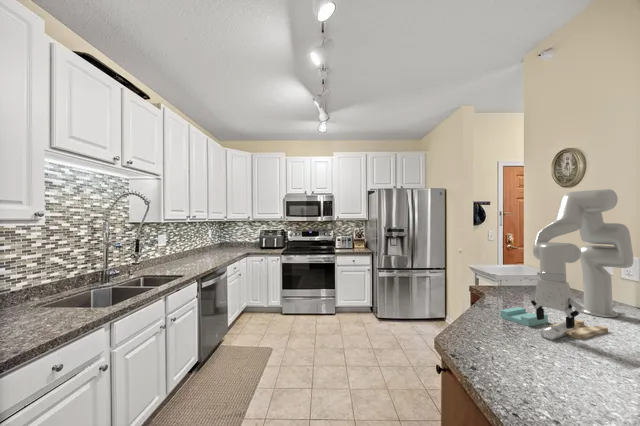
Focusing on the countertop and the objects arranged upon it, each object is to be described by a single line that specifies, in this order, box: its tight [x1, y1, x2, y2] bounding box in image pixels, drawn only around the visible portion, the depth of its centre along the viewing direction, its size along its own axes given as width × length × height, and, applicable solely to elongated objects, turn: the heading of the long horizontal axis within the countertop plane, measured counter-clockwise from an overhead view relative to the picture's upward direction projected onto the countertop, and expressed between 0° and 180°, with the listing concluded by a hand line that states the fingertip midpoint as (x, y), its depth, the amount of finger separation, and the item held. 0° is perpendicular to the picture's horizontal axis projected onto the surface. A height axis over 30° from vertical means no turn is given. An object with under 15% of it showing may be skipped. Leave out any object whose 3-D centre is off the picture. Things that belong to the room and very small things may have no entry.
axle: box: [539, 321, 573, 341], centre depth 105 cm, size 12×4×4 cm, turn 111°
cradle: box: [499, 306, 549, 328], centre depth 122 cm, size 12×12×4 cm
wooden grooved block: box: [548, 318, 609, 340], centre depth 110 cm, size 18×10×2 cm, turn 110°
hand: (554, 323), depth 105 cm, fingers open, 9 cm apart
